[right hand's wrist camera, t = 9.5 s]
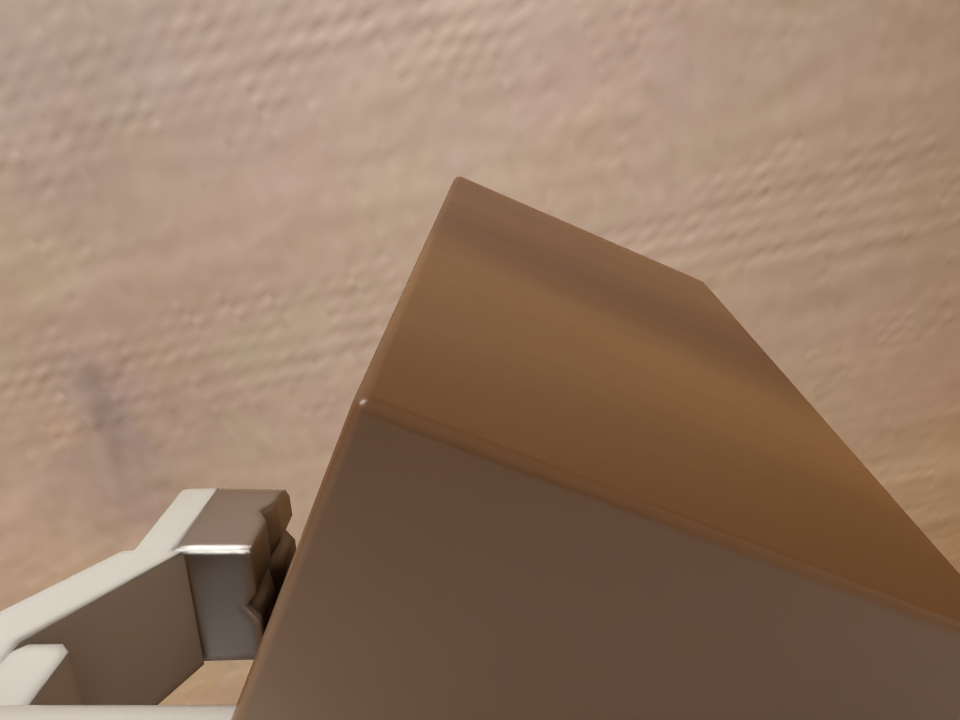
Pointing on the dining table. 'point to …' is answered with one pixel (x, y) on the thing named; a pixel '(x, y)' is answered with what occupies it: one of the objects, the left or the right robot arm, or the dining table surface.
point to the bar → (594, 513)
